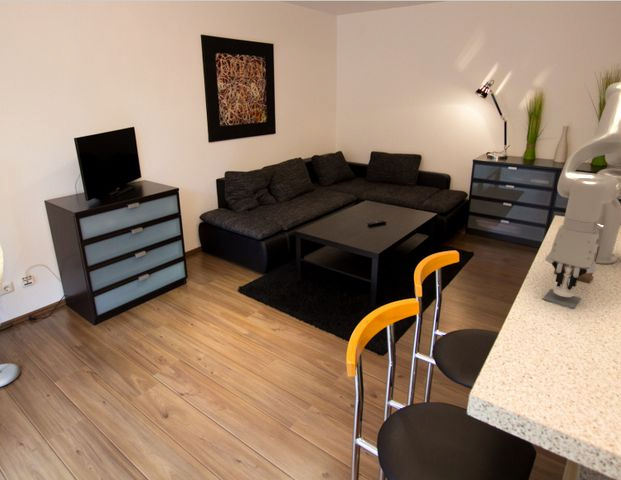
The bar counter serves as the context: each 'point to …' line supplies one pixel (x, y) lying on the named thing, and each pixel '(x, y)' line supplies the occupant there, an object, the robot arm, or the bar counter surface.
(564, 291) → the chess piece
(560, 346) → the bar counter surface
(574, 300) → the pad
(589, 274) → the brown piece
